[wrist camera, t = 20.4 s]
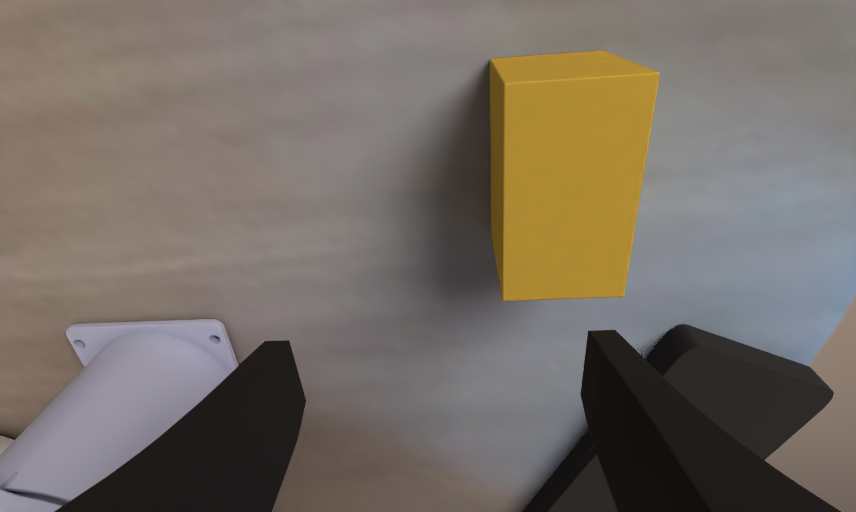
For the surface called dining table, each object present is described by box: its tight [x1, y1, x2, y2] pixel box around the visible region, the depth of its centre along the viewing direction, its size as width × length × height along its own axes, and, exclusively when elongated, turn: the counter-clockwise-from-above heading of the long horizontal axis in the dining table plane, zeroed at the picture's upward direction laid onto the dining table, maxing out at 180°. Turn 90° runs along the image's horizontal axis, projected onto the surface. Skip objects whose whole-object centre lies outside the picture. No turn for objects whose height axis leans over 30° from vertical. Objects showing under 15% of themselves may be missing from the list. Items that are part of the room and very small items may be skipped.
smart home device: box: [524, 324, 833, 512], centre depth 26 cm, size 8×2×20 cm
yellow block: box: [490, 50, 660, 301], centre depth 16 cm, size 7×4×5 cm, turn 4°
